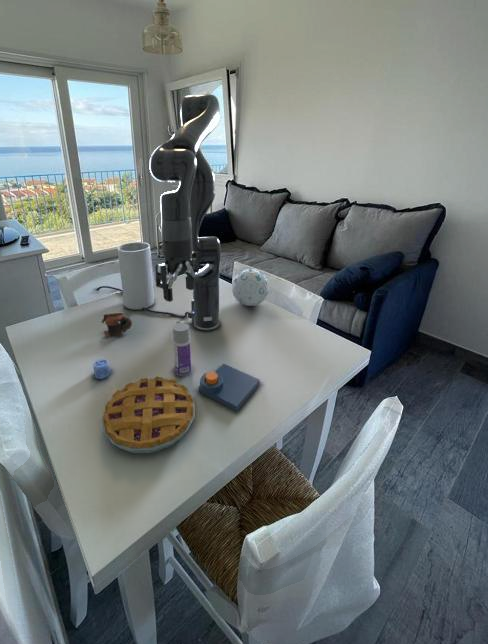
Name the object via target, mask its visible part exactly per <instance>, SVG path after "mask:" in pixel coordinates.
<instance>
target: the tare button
mask: <svg viewBox="0 0 488 644" xmlns="http://www.w3.org/2000/svg"><path fill="white" fill-rule="evenodd" d="M206 373H207V374H206V383H207V384H209V385H214V384H216V383H217V382H218V375H217V374H216V373H215V371H209V372H206Z"/></svg>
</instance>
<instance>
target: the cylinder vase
mask: <svg viewBox="0 0 488 644" xmlns="http://www.w3.org/2000/svg"><path fill="white" fill-rule="evenodd" d="M151 252H152V251H151V245H150V244H149V243H148V242H145V241H144V242H143V241H132V242H125V243H122V244H120V245H118V246H117V255H118V265H119V273H120V282H121V290H123V293H122V296H123V297H122V298H123V305H124V307H125V308H126V309H129V310H133V311H134V310H135V311H136V310H137V311H138V310H143V309H142V308H146V309H149V307H151V306H153V305H154V304H155V291H154V290H155V289H154V279H153V267H152V266H153V265H152V253H151Z"/></svg>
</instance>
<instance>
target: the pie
mask: <svg viewBox="0 0 488 644" xmlns="http://www.w3.org/2000/svg"><path fill="white" fill-rule="evenodd" d="M193 398H194V397H192V394H191V392H190V391H189V389H188V387H187V386H185V385H184V384H181V383H180V382H179V381H178V380H177V379H173V378H169V379H167V378H163V377H162V376H155V377H154V378H148V377H144V378H140V380H139V381H136V382H132V381H131V382H129V383H127V384H125V386H124V387H123V388H121V389H117V390H115V391H114V393H113V394H112V397H111V398H110V399H109V400H108V401H107V402H106V404H105V408H104V411H103V414H102V417H101V423H102V429H103V431H102V432H103V434H104V435H105V436H106V438H107V439H108V440H109V441H110V443H111V444H112V445H113V446H116V447H118V448H119V449H120V450H122V451H125V452H128V453H132V454H153V453H156V452H159V451H161V450H164V449H167V448H170V447H172V446H173V445H174V444H175V443H177V442H179V441H180V440H181V439H182V438H183V437H184V435H185V434H186V433H187V432H188V431H189V428H190V427H191V425H192V423H193V421H194V419H195V411H196V409H195V408H196V405H195V403H196V402H195V401H194V399H193Z"/></svg>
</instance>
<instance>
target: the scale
mask: <svg viewBox="0 0 488 644" xmlns="http://www.w3.org/2000/svg"><path fill="white" fill-rule="evenodd" d="M214 372H215V373H216V374H217V375H218V382H217V383H216V384H214V385H209V384H207V383H206V374H207V373H208V372H206V373H204V374H202V375H201V376H200V379H199V386H198V392H199V393H201V394H203V395H204V396H206V397H209V399H212V400H214V401H216V402H218V403H220V404H221V405H223V406H226V407H227V408H229V409H230V410H232V411H234V412H238V411H239V410H240V409H241V407H242V406H243V405H244V404H245V403H246V401H247V400H248V399H249V398H250V397H251V396H252V394H253V393H254V392H255V390H256V389H257V388H258V387H259V386H260V383H261V382H260V381H261V380H260V379H259V378H257V377H255V376H252V375H250V374H249V373H246V372H244V371H241V370H239V369H237V368H234V367H232V366H230V365H228V364H225V363H222V364H221V365H220V366H219V367H218V368H217V369H216V370H214Z"/></svg>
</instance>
